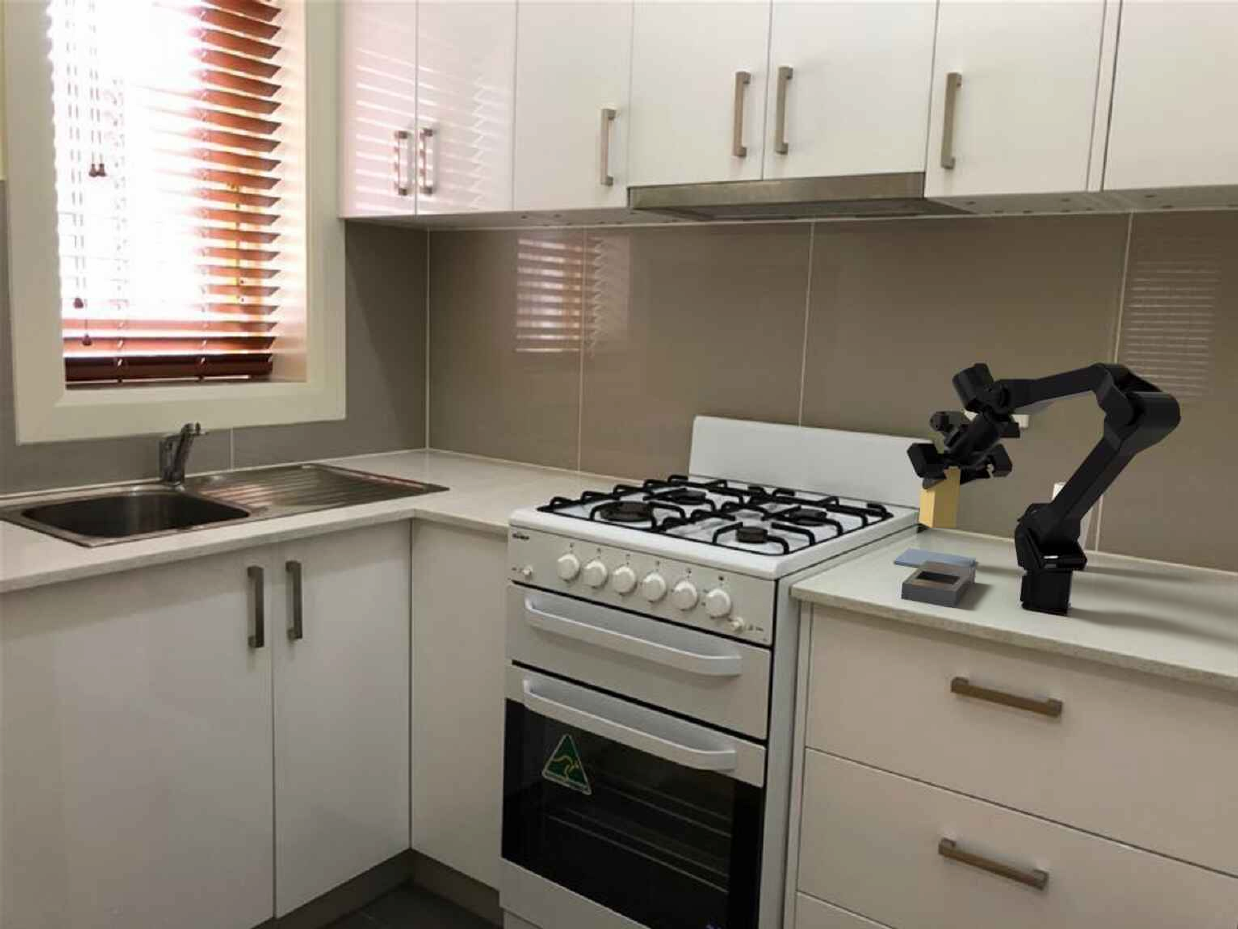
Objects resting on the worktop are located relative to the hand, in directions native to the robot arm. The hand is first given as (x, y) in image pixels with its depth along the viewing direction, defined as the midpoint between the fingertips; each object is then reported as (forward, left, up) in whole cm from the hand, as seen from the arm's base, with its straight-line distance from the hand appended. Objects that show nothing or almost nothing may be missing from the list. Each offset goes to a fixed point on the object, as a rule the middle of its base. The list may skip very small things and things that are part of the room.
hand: (935, 487), depth 178 cm
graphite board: (-6, +20, -14) cm, 24 cm away
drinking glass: (-22, -12, -14) cm, 29 cm away
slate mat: (-1, +1, -14) cm, 14 cm away
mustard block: (-1, +1, -7) cm, 7 cm away
